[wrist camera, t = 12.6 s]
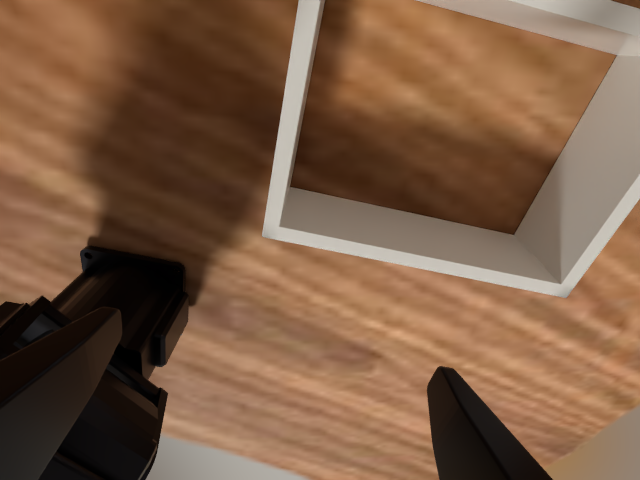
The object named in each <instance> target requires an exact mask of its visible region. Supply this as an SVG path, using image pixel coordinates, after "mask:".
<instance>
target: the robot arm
mask: <svg viewBox="0 0 640 480" xmlns="http://www.w3.org/2000/svg"><path fill="white" fill-rule="evenodd" d="M89 253H90V254H91V255H90V254H89ZM80 256H81V263H82V269H83V272H82V273H81V274H80V275H79V276H78V277H77V278H76V279H75V280H74V281H73V282H72V283H71V284H69V285H68V286H67V287H66V288H65V289H64V290H63V291H62V292H61V293H60V294H59V295H58V296H57V297H56V298H54V299H53V300H52V301H51V302H50V301H49V300H48V299H46V298H45V297H44V296H40V297H39V298H37V299H36V300H34V301H33V302H31V303H30V304H27V303H25V304H24V303H22V304H18V303H12V302H4V303H3V304H2V305H0V480H145V479H146V478H147V476H148V474H149V472H150V470H151V468H152V466H153V463H154V461H155V458H156V454H157V449H158V444H159V439H160V433H161V428H162V423H163V417H164V412H165V406H166V401H167V396H168V393H167V392H166V391H165V390H163V389H162V388H158V387H157V386H155V385H154V384H153V383H151V382H150V381H149V380H148V379H149V377H150V376H151V374H152V372H153V370H154V368H155V366H157V367H163V366H164V365H166V363H167V361H168V359H169V357H170V355H171V353H172V351H173V350H174V348H175V346H176V344H177V342H178V340H179V338H180V336H181V335H182V333H183V330H184V328H185V326H186V324H187V322H188V305H189V295H188V294H187V292H185V272H186V270H185V267H184V265H182V264H181V263H178V262H172V261H167V260H162V259H157V258H151V257H146V256H141V255H136V254H130V253H125V252H120V251H115V250H109V249H104V248H99V247H94V246H87V247H85V248H84V249H83V250H82V251H81V252H80ZM174 269H177V270H178V271H179V272H177V271H175V270H174ZM427 396H428V406H429V416H430V426H431V436H432V444H433V450H434V455H435V460H436V465H437V470H438V475H439V480H553V479H552V478H551V477H550V476H549V475H548V474H547V472H546V471H545V470H544V469H543V468H542V467H541V466H540V465H539V463H538V462H537V461H536V460H535V459H534V458H533V457H532V456H531V455H530V453H529V452H528V451H527V450H526V449H525V448H524V447H523V446H522V444H521V443H520V442H519V441H518V440H517V439H516V438H515V437H514V435H513V434H512V433H511V432H510V431H509V430H508V429H507V428H506V427H505V425H504V424H503V423H502V422H501V421H500V420H499V419H498V418H497V416H496V415H495V414H494V413H493V412H492V411H491V410H490V409H489V407H488V406H487V405H486V404H485V403H484V402H483V401H482V400H481V399H480V397H479V396H478V395H477V394H476V393H475V392H474V391H473V390H472V388H471V387H470V386H469V385H468V384H467V383H466V382H465V381H464V379H463V378H462V377H461V376H460V375H459V374H458V373H457V372H456V371H455V370H454V369H453V368H449V367H443V366H439V367H438V368H437V369H436V371H435V373H434V374H433V376H432V378H431V380H430V381H429V383H428V387H427Z"/></svg>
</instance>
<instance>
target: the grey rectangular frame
mask: <svg viewBox="0 0 640 480" xmlns="http://www.w3.org/2000/svg"><path fill="white" fill-rule="evenodd" d="M416 1H420V2H424V3H427V4H431V5H435V6H438V7H442V8H446V9H449V10H453V11H457V12H461V13H464V14H468V15H472V16H475V17H479V18H483V19H486V20H490V21H494V22H497V23H501V24H505V25H508V26H512V27H516V28H519V29H523V30H527V31H530V32H534V33H538V34H541V35H545V36H549V37H552V38H556V39H560V40H564V41H567V42H571V43H575V44H578V45H582V46H586V47H589V48H593V49H597V50H600V51H604V52H608V53H611V54H615V55H617V56H616V58H615V60H614V62H613V63H612V65H611V67H610V69H609V70H608V72H607V74H606V76H605V77H604V79H603V81H602V83H601V84H600V86H599V88H598V89H597V91H596V93H595V95H594V96H593V98H592V100H591V102H590V103H589V105H588V107H587V109H586V110H585V112H584V114H583V116H582V117H581V119H580V121H579V123H578V124H577V126H576V128H575V130H574V131H573V133H572V135H571V136H570V138H569V140H568V142H567V143H566V145H565V147H564V149H563V150H562V152H561V154H560V156H559V157H558V159H557V161H556V163H555V164H554V166H553V168H552V170H551V171H550V173H549V175H548V176H547V178H546V180H545V182H544V183H543V185H542V187H541V189H540V190H539V192H538V194H537V196H536V197H535V199H534V201H533V203H532V204H531V206H530V208H529V210H528V211H527V213H526V215H525V216H524V218H523V220H522V222H521V223H520V225H519V227H518V229H517V230H516V232H515V234H514V235H511V234H507V233H502V232H498V231H493V230H488V229H484V228H479V227H474V226H470V225H465V224H460V223H456V222H451V221H446V220H442V219H437V218H432V217H428V216H423V215H419V214H414V213H409V212H405V211H400V210H395V209H391V208H386V207H381V206H377V205H372V204H367V203H363V202H358V201H354V200H349V199H344V198H340V197H335V196H330V195H326V194H321V193H316V192H312V191H307V190H302V189H298V188H293V187H290V184H291V179H292V174H293V168H294V163H295V158H296V152H297V147H298V142H299V137H300V131H301V126H302V121H303V115H304V110H305V105H306V99H307V94H308V89H309V83H310V78H311V73H312V67H313V62H314V57H315V51H316V46H317V41H318V35H319V30H320V25H321V19H322V14H323V9H324V3H325V0H299V3H298V9H297V15H296V22H295V28H294V35H293V41H292V47H291V54H290V60H289V67H288V73H287V79H286V86H285V92H284V98H283V105H282V111H281V118H280V124H279V130H278V137H277V143H276V150H275V156H274V162H273V169H272V175H271V182H270V188H269V194H268V201H267V207H266V213H265V220H264V226H263V233H262V237H266V238H271V239H276V240H281V241H286V242H291V243H296V244H300V245H305V246H310V247H315V248H320V249H325V250H330V251H335V252H340V253H345V254H350V255H355V256H360V257H365V258H370V259H375V260H380V261H385V262H390V263H395V264H400V265H405V266H410V267H415V268H420V269H425V270H430V271H435V272H440V273H445V274H450V275H455V276H460V277H465V278H470V279H475V280H480V281H484V282H489V283H494V284H499V285H504V286H509V287H514V288H519V289H524V290H529V291H534V292H539V293H544V294H549V295H554V296H559V297H564V298H567V296H568V295H569V293H570V292H571V291H572V289H573V288H574V287H575V285H576V284H577V283H578V281H579V280H580V279H581V277H582V276H583V275H584V273H585V272H586V270H587V269H588V268H589V266H590V265H591V264H592V262H593V261H594V260H595V258H596V257H597V256H598V254H599V253H600V252H601V250H602V249H603V247H604V246H605V245H606V243H607V242H608V241H609V239H610V238H611V237H612V235H613V234H614V233H615V231H616V230H617V229H618V227H619V226H620V224H621V223H622V222H623V220H624V219H625V218H626V216H627V215H628V214H629V212H630V211H631V210H632V208H633V207H634V206H635V204H636V203H637V201H638V200H639V199H640V9H639V8H635V7H632V6H628V5H625V4H621V3H618V2H614V1H611V0H416Z"/></svg>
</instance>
